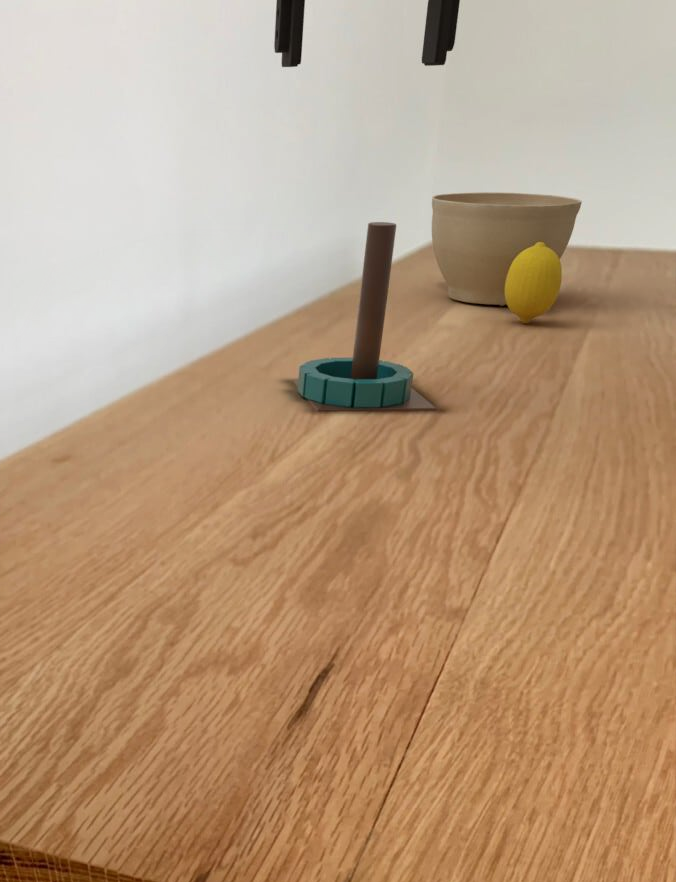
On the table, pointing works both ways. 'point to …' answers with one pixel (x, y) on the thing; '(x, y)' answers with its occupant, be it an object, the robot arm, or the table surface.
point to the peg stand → (374, 318)
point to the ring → (353, 384)
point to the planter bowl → (494, 237)
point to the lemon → (533, 282)
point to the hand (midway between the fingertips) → (362, 65)
